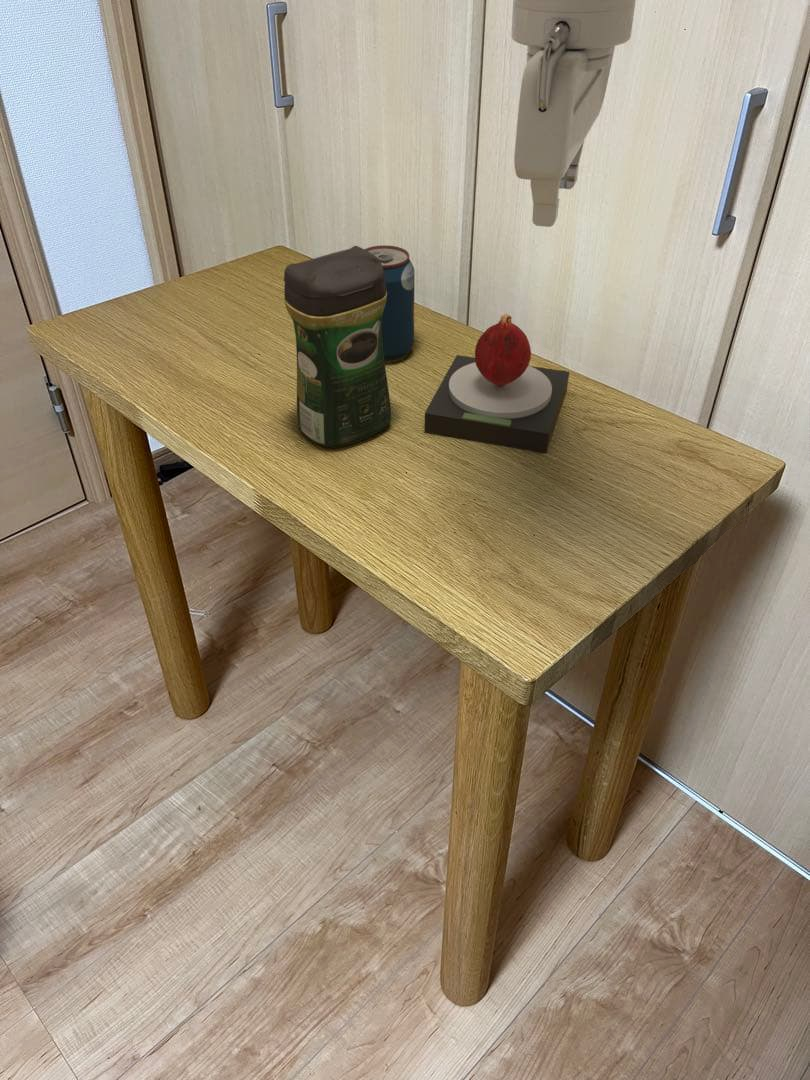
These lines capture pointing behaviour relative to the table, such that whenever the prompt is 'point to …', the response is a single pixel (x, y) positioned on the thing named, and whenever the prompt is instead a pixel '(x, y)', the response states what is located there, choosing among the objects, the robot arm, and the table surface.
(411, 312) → the soda can
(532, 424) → the scale
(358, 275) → the coffee jar
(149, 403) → the table surface
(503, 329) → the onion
